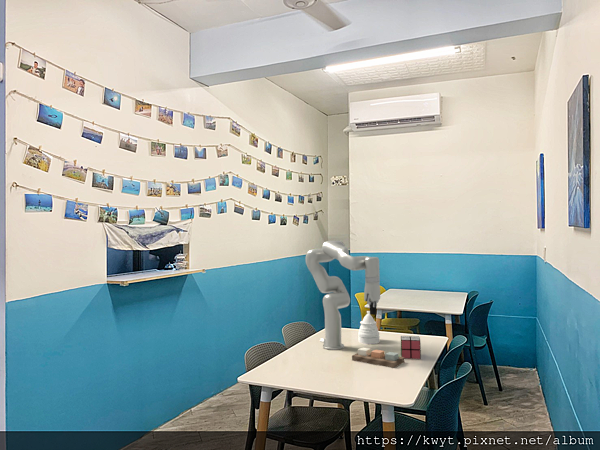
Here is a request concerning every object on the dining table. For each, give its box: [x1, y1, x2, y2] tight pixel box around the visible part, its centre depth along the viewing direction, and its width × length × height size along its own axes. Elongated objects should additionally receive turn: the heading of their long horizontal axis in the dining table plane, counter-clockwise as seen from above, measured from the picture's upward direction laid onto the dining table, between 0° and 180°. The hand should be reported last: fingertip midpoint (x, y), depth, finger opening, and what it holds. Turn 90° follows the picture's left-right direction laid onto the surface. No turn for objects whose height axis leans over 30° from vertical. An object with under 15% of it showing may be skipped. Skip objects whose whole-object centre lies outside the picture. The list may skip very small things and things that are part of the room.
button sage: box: [384, 351, 400, 361], centre depth 232 cm, size 5×5×3 cm
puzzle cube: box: [400, 335, 422, 360], centre depth 245 cm, size 10×10×10 cm
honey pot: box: [357, 310, 380, 345], centre depth 280 cm, size 13×13×18 cm
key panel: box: [351, 352, 405, 369], centre depth 237 cm, size 24×12×2 cm, turn 52°
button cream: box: [357, 347, 372, 356], centre depth 242 cm, size 5×5×3 cm
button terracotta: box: [371, 349, 385, 359], centre depth 237 cm, size 5×5×3 cm
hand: (373, 314), depth 245 cm, fingers closed
